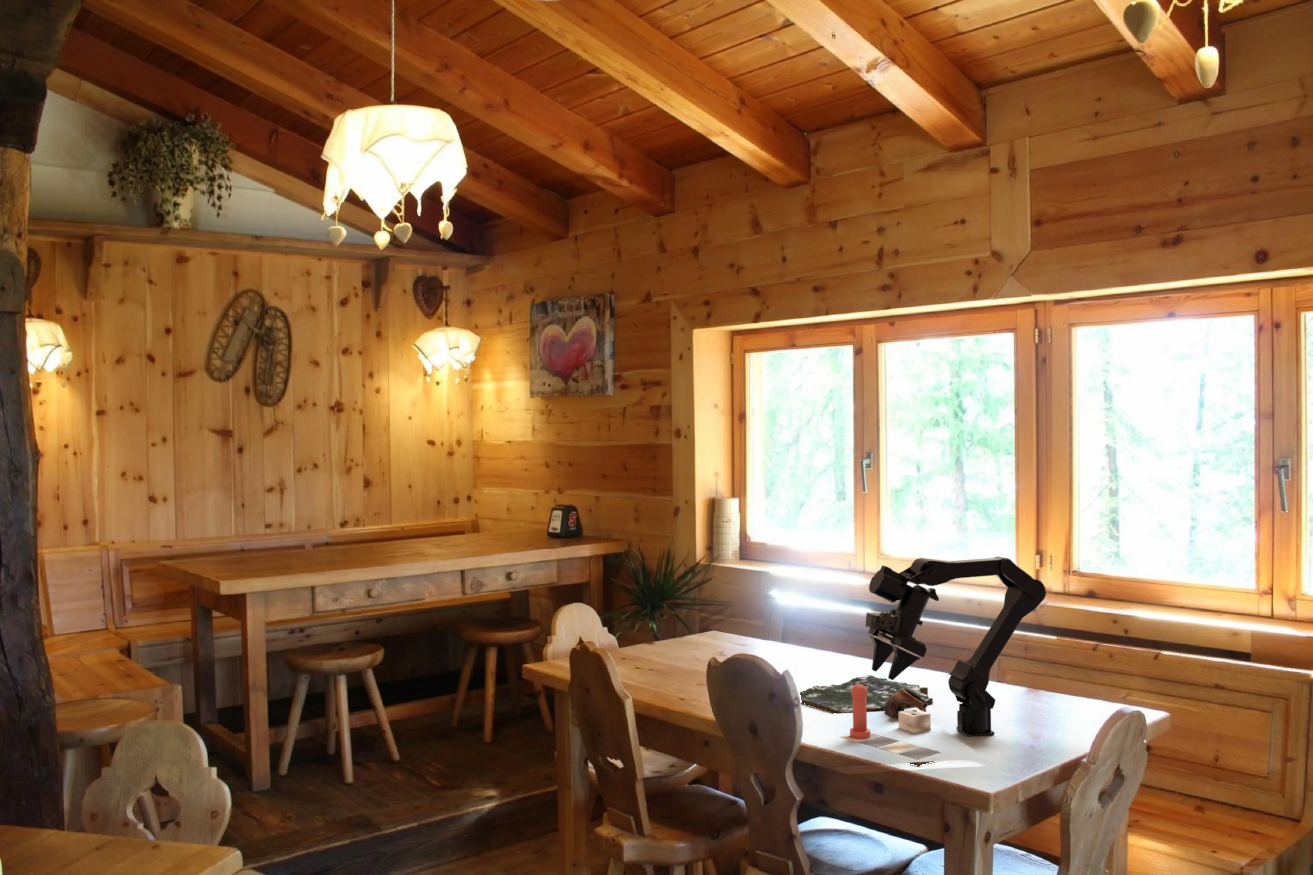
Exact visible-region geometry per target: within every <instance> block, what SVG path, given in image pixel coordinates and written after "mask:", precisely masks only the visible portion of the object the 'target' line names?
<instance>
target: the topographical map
mask: <svg viewBox="0 0 1313 875" xmlns="http://www.w3.org/2000/svg"><path fill="white" fill-rule="evenodd" d="M857 684H861V685H863V686H865V687H866V689H867V692H868V694H867V697H866V709H867V713H877V712H878V713H879V712H880V713H881V712H885V708H886V705H887V703H888V700H889V698H890V697H891V696H892V695H893V694H894V693H897V692H900V690H901V688H904V689H907V690H909V691H911V692H913V693H914V694H916V695H917V696H919V697H920V698H922V699H923V700H924V701H925V702H926V703H927V704H928V706H930V704H931V705H933V704H934V700H933V697H931V698H930V697H929V692H928V691H929V688H928V687H927V686H925V687H922V686H920V685H918V684H910V683H909V684H908V683H907V682H899V681H894V680H889V679H888V678H886V677H885V678H884V677H883V678H882V677H880V678H879V677H876V676H874V675H871V674H867V675H866V676H865V675H864V676H860V677H859V676H858V677H854V678H852V679H850V680H849V681H847V682H844V683H841V684H831V685H814V686H812V687H809V688H807V689H805V690H802V691H799V692H800V695H801V700H802V705H804V703H805V704H806V705H805V706H808V705H810V706H809V707H811V706H814V707H816V708H815V709H817V708H819V709H818V710H821V709H822V710H821V711H824V710H826V711H825V712H827V711H830V712H829V713H831V712H832V713H831V714H834V713H836V714H835V715H838V714H853V697H852V695H851V690H852V688H853V686H855V685H857ZM906 702H907V705H906V708H905V709H909V708H915V707H914V706H912V705H910V704H908V701H906ZM814 707H813V708H814Z"/></svg>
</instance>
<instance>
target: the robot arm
mask: <svg viewBox="0 0 1313 875" xmlns="http://www.w3.org/2000/svg"><path fill="white" fill-rule="evenodd" d="M989 576H996V577H998V579H999V580H1000V582H1001V583H1002V584H1003V585H1004V586H1005V587H1006V592H1005V594H1004V601H1003V602H1004V603H1003V607H1002V609H1001V611H1000V612H999V613H998V614H997V616H996V618H995V620H994V622H993V623H992V625H991V626H990V628H989V630H988V631H987V632H986V634H985V636H984V638H983V639H982V640H981V642H980V644H979V645H978V647H977V648H976V650H975V651H974V653H973V654H972V656H971V657H970V658H969V659H968V660H966V661H963V660H960V659H959V660H957V661H956V663H955V666H954V667H953V669H952V671H950V672H949V673H948V675H950V677H949V678H948V681H947V684H948V687H949V690H950V692H951V693H952V694H953V695H954V696H955V699H956V701H957V702H958V707H959V708H958V709H959V710H957V712H956V714H957V717H956V718H957V725H956V729H957V731H960V733H962V734H964V735H965V736H968V737H975V736H976V737H977V736H992V735H995V734H996V732H994V731H993V730H992V711H991V710H992V709H994V707H995V703H996V699H995V698H994V697H993V695H991V694H990V693H989V691H987V688H988V685H989V683H990V676H991V674H990V673H991V669H992V668H993V666H994V664H995V663H996V661H997V659H998V658H999V657H1000V655H1001V654H1002V652H1003V650H1004V648H1005V647H1006V645H1007V644H1008V642H1009V640H1010V639H1011V638H1012V636H1013V634H1014V633H1015V631H1016V629H1017V628H1018V626H1019V625H1020V623H1021V621H1022V620H1023V618H1025V617H1026V616H1028V615H1029V614H1030V613H1032V612H1034V611H1035V610H1036V609H1037V608H1038V607H1039V606H1040V604H1041V603H1042V602H1043V601H1044V599H1045V598H1046V597H1047V596H1046V595H1047V591H1046V587H1045V584H1044V583H1043V582H1042V581H1041V580H1039V579H1036V578H1033V576H1032V575H1030V574H1028V573H1027V572H1026V571H1025V570H1023V569H1022V568H1020V567H1019V566H1018V565H1017V564H1016V563H1015V562H1013V560H1012V559H1010V558H1009V557H1004V556H995V557H988V558H978V559H976V558H975V559H963V560H960V559H959V560H950V561H949V560H940V559H933V558H927V557H926V558H924V557H920V558H916V559H914V560H913V562H912V564H911V565H910V566H908V567H907V568H906V569H904V570H902V571H899V572H897V571H895V570H893V569H892V568H891V567H888V566H887V565H881V568H880V569H879V570H877V572H876V573H875V574H874V575H873V576H872V577H871V579H870V582H869V586H868V590H869V592H870V594H873V595H875V596H878V597H879V598H882V599H884V600H885V601H888V602H890V603H891V604H892V603H896V602H897V601H898V604H897V606H896V608H892V609H890V611H889V612H888V611H887V612H883V611H880V612H866V614H865V615H866V616H865V627H866V628H869V630H868V632H867V633H868V634H870V635H869V638H870V639H871V642H872V644H873V657H872V665H871V670H872V671H874V672H878V670H879V669H880V668H881V667H882V666H883V665H884V663H885V662H886V661H887V659H888V658H889V657H890V656H891V655H892V654H893V653H894V656H893V659H892V662H891V666H890V669H889V671H888V672H889V673H888V675H887V676H888V677H887V679H888V680H890V681H894V680H895V679H896V678H897V677H898V676H899V675H900V674H902V673H903V672H904V671H905V670H906V669H907V668H909V667H910V666H911V665H913V664H914V663H916V661H919V660H920V659H921V658H925V655H926V653H927V651H928V650H927V649H928V648H927V646H926V644H925V643H923V642H920V641H919V640H916V637H914V636H915V634H916V633H915V632H916V630H917V627H918V626H921V627H922V625H923V623H924V622H923V621H922V620H921V619H922V617H923V614H924V612H925V610H926V607H927V604H928V603H929V600H932V601H936V602H939V600H940V599H939V595H938V593H937V590H936V588H933V587H934V586H938V585H942V584H946V583H948V582H951V581H954V580H956V579H969V578H977V577H978V578H979V577H980V578H981V577H989ZM908 583H911V584H914V586H912V585H910V584H908ZM922 585H925V586H928V587H929V588H925V587H923V586H922ZM897 646H898V647H897ZM919 656H920V657H919Z"/></svg>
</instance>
